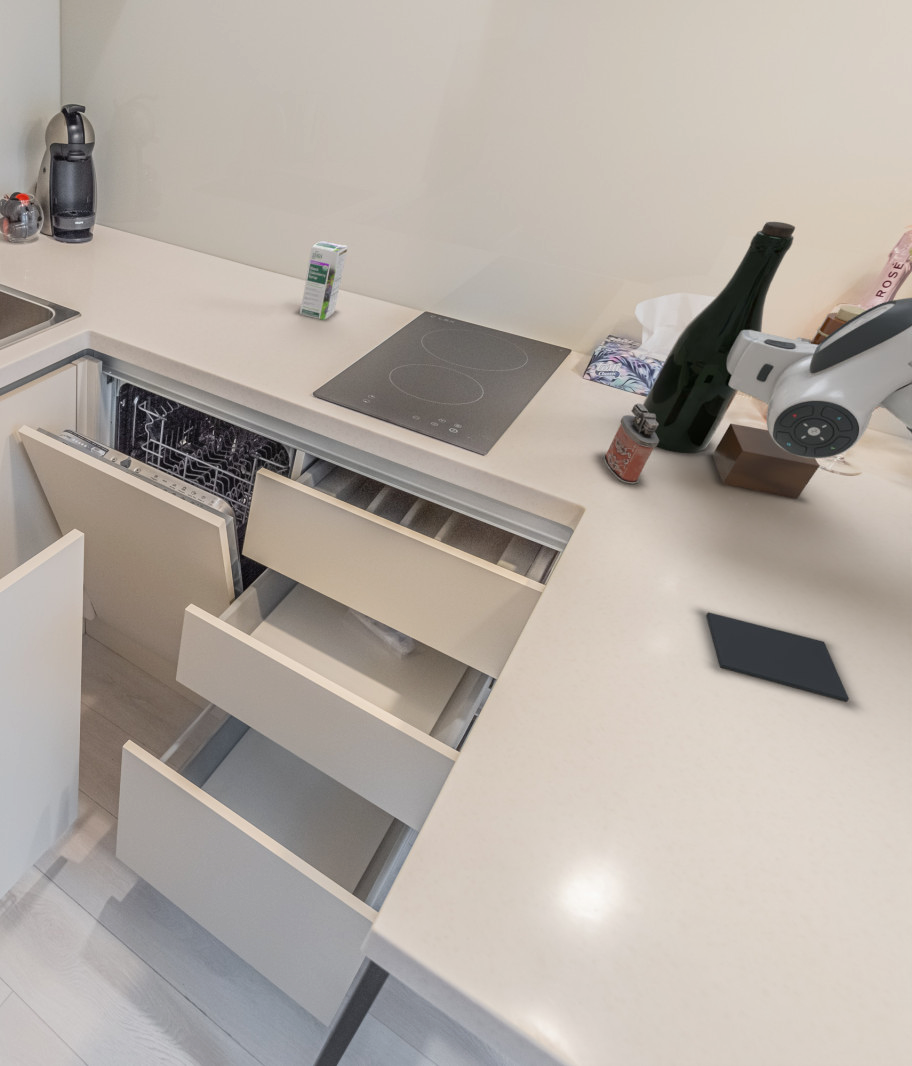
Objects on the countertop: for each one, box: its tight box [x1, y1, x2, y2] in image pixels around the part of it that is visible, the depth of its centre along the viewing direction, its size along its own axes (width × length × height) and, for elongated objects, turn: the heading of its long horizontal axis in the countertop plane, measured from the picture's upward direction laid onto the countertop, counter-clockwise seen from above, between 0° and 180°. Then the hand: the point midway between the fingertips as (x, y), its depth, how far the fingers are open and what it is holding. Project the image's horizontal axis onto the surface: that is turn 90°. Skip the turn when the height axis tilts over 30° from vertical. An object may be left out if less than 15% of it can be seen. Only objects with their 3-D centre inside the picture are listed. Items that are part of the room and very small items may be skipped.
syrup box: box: [299, 240, 349, 321], centre depth 157 cm, size 6×6×14 cm
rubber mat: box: [706, 611, 850, 703], centre depth 82 cm, size 11×9×1 cm
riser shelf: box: [712, 423, 820, 500], centre depth 110 cm, size 9×9×6 cm
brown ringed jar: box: [810, 305, 867, 345], centre depth 100 cm, size 5×5×11 cm
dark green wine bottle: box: [641, 221, 796, 454], centre depth 111 cm, size 10×10×33 cm
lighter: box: [602, 403, 659, 486], centre depth 109 cm, size 8×3×10 cm, turn 171°
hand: (829, 350), depth 100 cm, fingers closed on brown ringed jar, 5 cm apart
